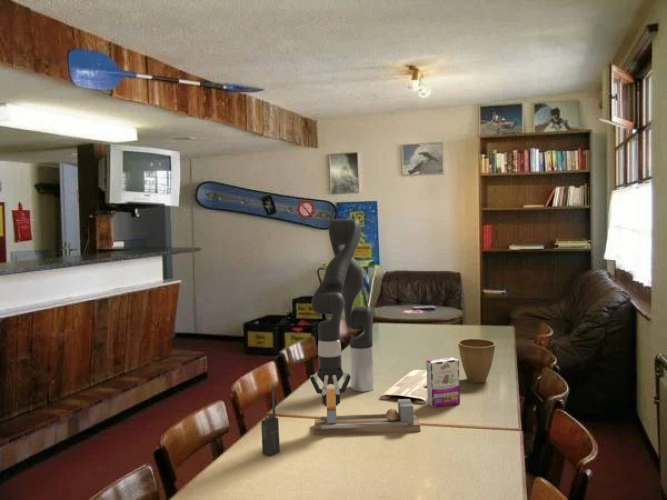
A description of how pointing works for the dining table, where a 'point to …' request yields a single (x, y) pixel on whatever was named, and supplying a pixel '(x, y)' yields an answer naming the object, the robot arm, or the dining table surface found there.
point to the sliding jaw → (331, 406)
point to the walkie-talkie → (270, 432)
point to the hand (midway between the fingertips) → (331, 405)
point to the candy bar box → (443, 382)
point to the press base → (371, 422)
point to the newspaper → (410, 386)
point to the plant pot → (476, 358)
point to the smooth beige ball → (392, 415)
